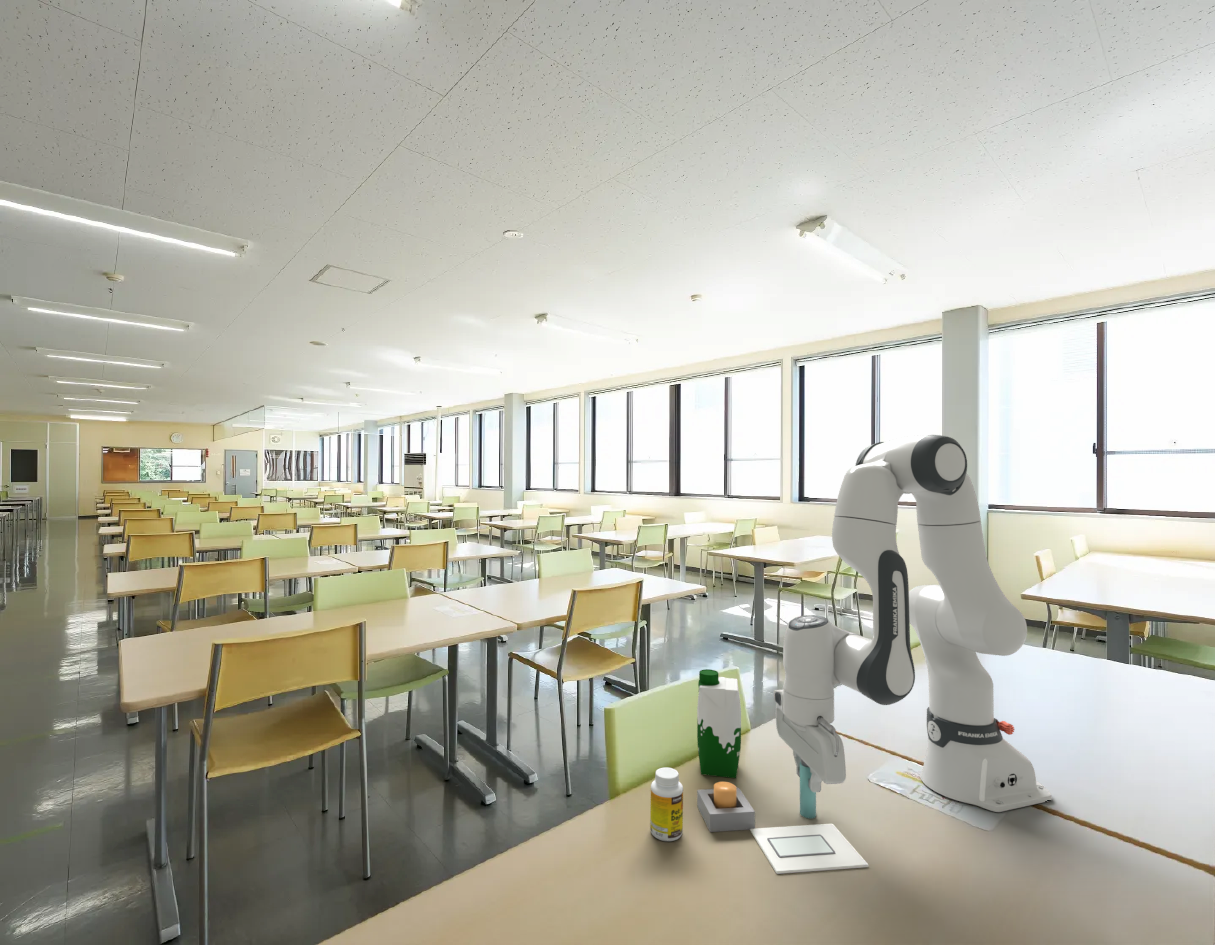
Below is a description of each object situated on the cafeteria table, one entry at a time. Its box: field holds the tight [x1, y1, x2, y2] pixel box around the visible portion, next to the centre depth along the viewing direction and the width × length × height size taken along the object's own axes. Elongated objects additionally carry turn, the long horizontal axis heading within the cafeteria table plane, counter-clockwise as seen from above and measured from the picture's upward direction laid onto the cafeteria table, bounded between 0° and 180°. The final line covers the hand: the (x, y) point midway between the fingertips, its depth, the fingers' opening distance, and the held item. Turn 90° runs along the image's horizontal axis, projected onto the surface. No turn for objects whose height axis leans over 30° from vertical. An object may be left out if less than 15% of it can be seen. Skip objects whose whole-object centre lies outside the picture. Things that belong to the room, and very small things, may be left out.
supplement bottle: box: [649, 766, 684, 842], centre depth 98 cm, size 6×6×10 cm
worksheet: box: [749, 823, 869, 875], centre depth 94 cm, size 15×11×1 cm
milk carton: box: [696, 669, 742, 779], centre depth 121 cm, size 9×9×20 cm
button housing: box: [696, 787, 756, 833], centre depth 103 cm, size 8×8×3 cm
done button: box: [713, 781, 738, 809], centre depth 103 cm, size 4×4×3 cm
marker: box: [799, 759, 817, 820], centre depth 104 cm, size 3×3×10 cm
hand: (808, 783), depth 105 cm, fingers open, 3 cm apart
